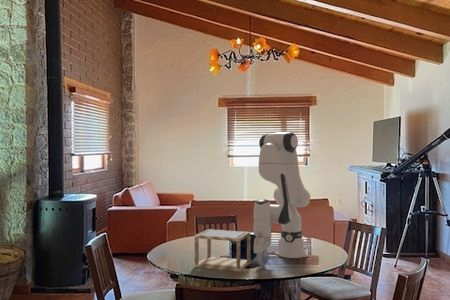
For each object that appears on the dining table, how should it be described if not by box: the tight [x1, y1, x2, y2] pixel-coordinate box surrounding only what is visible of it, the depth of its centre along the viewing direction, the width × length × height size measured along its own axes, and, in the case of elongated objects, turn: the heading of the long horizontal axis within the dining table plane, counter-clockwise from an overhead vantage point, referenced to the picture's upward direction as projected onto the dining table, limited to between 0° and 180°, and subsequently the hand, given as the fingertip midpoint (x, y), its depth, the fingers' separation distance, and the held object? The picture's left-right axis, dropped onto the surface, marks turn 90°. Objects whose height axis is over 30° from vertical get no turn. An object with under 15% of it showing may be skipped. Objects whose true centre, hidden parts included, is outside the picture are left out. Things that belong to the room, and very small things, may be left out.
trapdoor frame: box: [194, 228, 251, 273], centre depth 243 cm, size 24×18×16 cm
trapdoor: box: [200, 229, 246, 245], centre depth 243 cm, size 20×14×3 cm
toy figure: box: [253, 250, 272, 270], centre depth 236 cm, size 11×6×12 cm, turn 122°
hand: (262, 258), depth 236 cm, fingers closed on toy figure, 7 cm apart
